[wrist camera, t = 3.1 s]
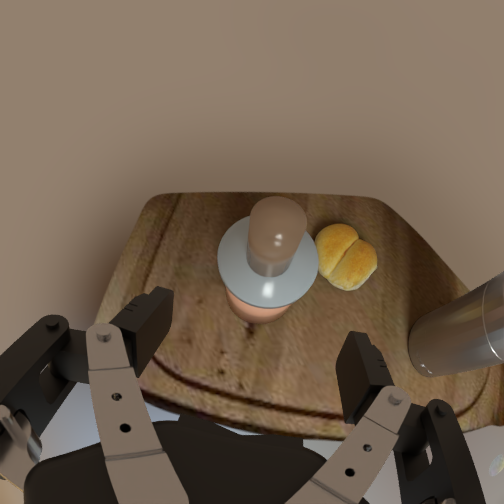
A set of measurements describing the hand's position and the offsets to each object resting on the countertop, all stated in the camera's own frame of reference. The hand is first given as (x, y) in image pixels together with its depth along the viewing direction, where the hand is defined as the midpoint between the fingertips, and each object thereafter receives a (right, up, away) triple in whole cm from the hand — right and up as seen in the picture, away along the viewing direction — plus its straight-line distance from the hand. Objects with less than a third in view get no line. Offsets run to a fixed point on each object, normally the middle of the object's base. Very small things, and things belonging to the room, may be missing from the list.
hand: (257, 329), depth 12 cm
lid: (+1, +2, +15) cm, 15 cm away
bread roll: (+12, +2, +25) cm, 28 cm away
